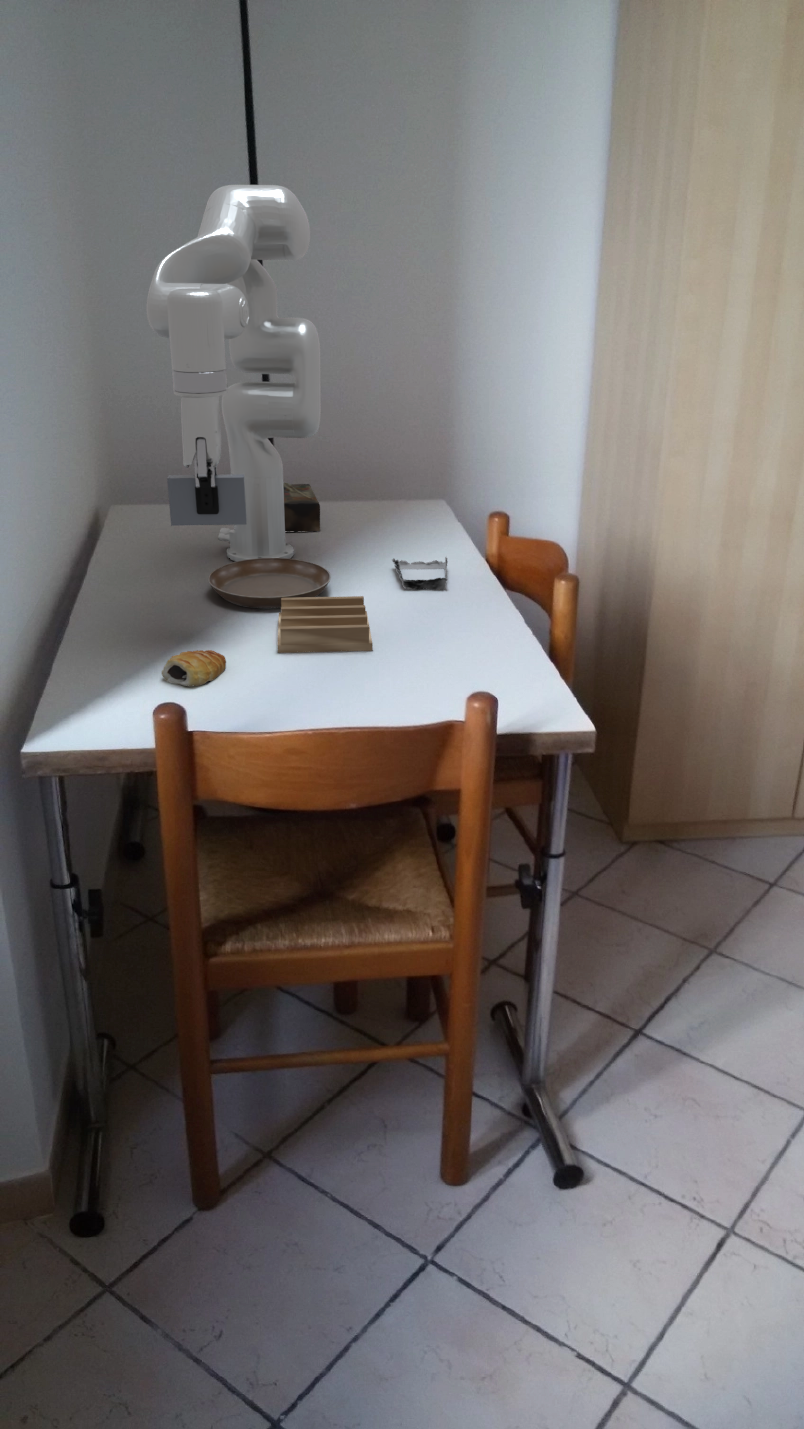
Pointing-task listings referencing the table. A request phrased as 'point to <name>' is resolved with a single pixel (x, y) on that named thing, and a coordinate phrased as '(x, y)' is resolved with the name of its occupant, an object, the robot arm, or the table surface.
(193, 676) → the pastry
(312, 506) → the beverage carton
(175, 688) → the table surface
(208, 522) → the slate board
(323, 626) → the board rack
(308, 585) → the plant saucer
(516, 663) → the table surface
